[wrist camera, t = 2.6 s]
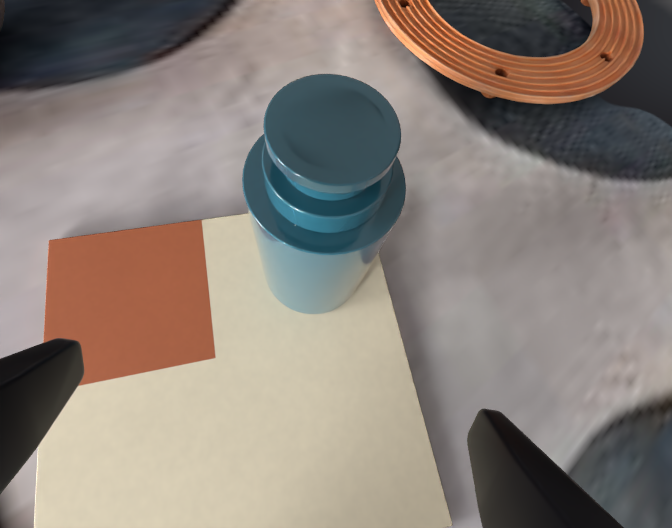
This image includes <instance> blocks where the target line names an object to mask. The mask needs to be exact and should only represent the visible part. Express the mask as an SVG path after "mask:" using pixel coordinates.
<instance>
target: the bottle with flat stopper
mask: <svg viewBox="0 0 672 528" xmlns="http://www.w3.org/2000/svg"><path fill="white" fill-rule="evenodd" d="M400 143H401V128H400V124H399V120H398V117H397V115H396V113H395V111H394V109H393V107H392V106H391V105H390V103H389V102H388V101H387V100H386V99H385V98H384V97H383V96H382V95H381V94H380V93H379V92H378V91H377V90H375V89H374V88H372V87H371V86H369V85H367V84H365V83H363V82H361V81H359V80H356V79H354V78H350V77H347V76H342V75H336V74H317V75H310V76H306V77H303V78H300V79H297V80H295V81H293V82H291V83H289V84H287V85H286V86H284V87H283V88H282V89H281V90H280V91H278V92H277V94H276V95H275V96H274V97H273V98H272V100H271V102H270V103H269V105H268V107H267V110H266V113H265V117H264V134H263V135H262V136H261V137H260V138H259V139H258V140H257V142H256V143H255V144H254V145H253V147H252V149H251V150H250V152H249V154H248V156H247V159H246V161H245V165H244V169H243V177H242V184H243V192H244V197H245V201H246V205H247V208H248V212H249V216H250V220H251V224H252V228H253V232H254V236H255V239H256V243H257V247H258V251H259V255H260V259H261V263H262V267H263V271H264V274H265V278H266V282H267V284H268V287H269V289H270V290H271V292H272V293H273V295H274V296H275V297H276V298H277V299H278V300H279V301H280V302H281V303H282V304H283V305H285V306H286V307H288V308H290V309H292V310H294V311H297V312H300V313H305V314H322V313H326V312H330V311H332V310H335V309H337V308H338V307H340V306H342V305H343V304H344V303H345V302H347V301H348V300H349V299H350V297H351V296H352V295H353V293H354V292H355V290H356V289H357V287H358V285H359V284H360V282H361V280H362V278H363V277H364V275H365V273H366V272H367V270H368V268H369V267H370V265H371V263H372V262H373V260H374V258H375V257H376V255H377V253H378V252H379V250H380V248H381V247H382V245H383V243H384V241H385V240H386V238H387V236H388V235H389V233H390V231H391V230H392V228H393V226H394V225H395V223H396V221H397V219H398V218H399V216H400V214H401V211H402V208H403V206H404V201H405V194H406V184H405V177H404V173H403V169H402V166H401V164H400V161H399V159H398V158H397V153H398V151H399V148H400Z"/></svg>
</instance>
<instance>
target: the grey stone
mask: <svg viewBox="0 0 672 528" xmlns="http://www.w3.org/2000/svg"><path fill="white" fill-rule="evenodd" d="M4 12H5V7H4V0H0V31H1V27H2V24H3V19H4Z"/></svg>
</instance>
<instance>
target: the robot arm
mask: <svg viewBox="0 0 672 528" xmlns="http://www.w3.org/2000/svg"><path fill="white" fill-rule="evenodd" d="M83 376H84V362H83V355H82V348H81V344H80V343H79V342H78V341H76V340H71V339H65V338H56V339H53V340H50V341H47V342H45V343H42V344H39V345H36V346H34V347H31V348H28V349H26V350H23V351H20V352H18V353H15V354H12V355H9V356H7V357H4V358H1V359H0V494H1V493H2V491H3V490H4V489H5V488H6V486H7V485H8V484H9V483H10V481H11V480H12V479H13V478H14V476H15V475H16V474H17V473H18V471H19V470H20V469H21V468H22V466H23V465H24V464H25V463H26V461H27V460H28V459H29V457H30V456H31V455H32V454H33V452H34V451H35V450H36V448H37V447H38V445H39V444H40V443H41V441H42V440H43V438H44V437H45V435H46V434H47V432H48V431H49V429H50V428H51V426H52V425H53V423H54V422H55V420H56V419H57V417H58V416H59V414H60V413H61V411H62V410H63V408H64V407H65V405H66V404H67V402H68V400H69V399H70V397H71V396H72V394H73V393H74V391H75V390H76V388H77V387H78V385H79V384H80V382H81V380H82V378H83ZM467 443H468V450H469V456H470V462H471V468H472V473H473V479H474V485H475V491H476V497H477V503H478V508H479V513H480V518H481V522H482V526H483V528H623V527H622V526H621V525H620V524H619V523H618V522H617V521H616V520H615V519H614V518H613V517H612V516H611V515H610V514H609V513H608V512H606V511H605V510H604V509H603V508H602V507H601V506H600V505H599V504H598V503H597V502H596V501H595V500H594V499H593V498H592V497H591V496H589V495H588V494H587V493H586V492H585V491H584V490H583V489H582V488H581V487H580V486H579V485H578V484H577V483H576V482H575V481H574V480H572V479H571V478H570V477H569V476H568V475H567V474H566V473H565V472H564V471H563V470H562V469H561V468H560V467H559V466H558V465H557V464H555V463H554V462H553V461H552V460H551V459H550V458H549V457H548V456H547V455H546V454H545V453H544V452H543V451H542V450H541V449H540V448H538V447H537V446H536V445H535V444H534V443H533V442H532V441H531V440H530V439H529V438H528V437H527V436H526V435H525V434H524V433H523V432H521V431H520V430H519V429H518V428H517V427H516V426H515V425H514V424H513V423H512V422H511V421H510V420H509V419H508V418H507V417H506V416H504V415H503V414H502V413H501V412H499V411H496V410H490V409H481V410H480V411H479V412H478V414H477V416H476V418H475V420H474V422H473V424H472V426H471V428H470V430H469V433H468V438H467Z"/></svg>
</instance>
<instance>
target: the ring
mask: <svg viewBox="0 0 672 528" xmlns="http://www.w3.org/2000/svg"><path fill="white" fill-rule="evenodd" d="M580 1H581V3H582V4H583V5H585V6H588V7H590V8H591V12H592V17H593V23H592V29H591V32H590V35H589V37H588V39H587V40H586V41H585V43H584V44H582V45H581V46H580V47H578V48H577V49H575V50H573V51H570V52H568V53H565V54H561V55H557V56H550V57H525V56H517V55H512V54H508V53H504V52H500V51H497V50H494V49H491V48H489V47H486V46H484V45H481V44H479V43H477V42H475V41H473V40H471V39H470V38H468V37H466V36H464V35H463V34H461V33H460V32H458V31H457V30H456V29H454V28H453V27H452V26H451V25H449V24H448V23H447V22H446V21H445V20H444V19H443V18H442V17H441V16H440V15H439V14H438V13H437V12H436V10H435V9H434V8H433V6H432V5H431V4H430V2H429V0H375V3H376V5H377V7H378V10H379V12H380V14H381V16H382V17H383V19H384V21H385V22H386V24H387V25H388V27H389V28H390V29H391V31H392V32H393V33H394V35H395V36H396V37H397V38H398V39H399V40H400V41H401V42H402V43H403V44H404V45H405V46H406V47H407V48H408V49H409V50H410V51H411V52H412V53H413V54H415V55H416V56H417V57H418V58H420V59H421V60H422V61H424V62H425V63H426V64H428V65H429V66H431V67H432V68H434V69H435V70H437V71H438V72H440V73H442V74H443V75H445V76H446V77H448V78H450V79H452V80H454V81H456V82H458V83H460V84H462V85H464V86H467V87H469V88H471V89H474V90H477V91H480V92H481V94H482V95H483V96H485V97H487V98H495V97H499V98H503V99H508V100H513V101H518V102H525V103H536V104H557V103H567V102H573V101H578V100H582V99H585V98H588V97H591V96H594V95H596V94H598V93H601V92H603V91H604V90H606V89H608V88H609V87H611V86H612V85H614V84H615V83H616V82H617V81H619V80H620V79H621V78H622V77H623V76H624V75H625V74H626V73H627V72H628V71H629V70H630V69H631V68H632V67H633V65H634V64H635V62H636V61H637V59H638V57H639V55H640V52H641V49H642V44H643V38H644V28H643V19H642V15H641V12H640V9H639V7H638V4H637V2H636V0H580Z"/></svg>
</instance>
